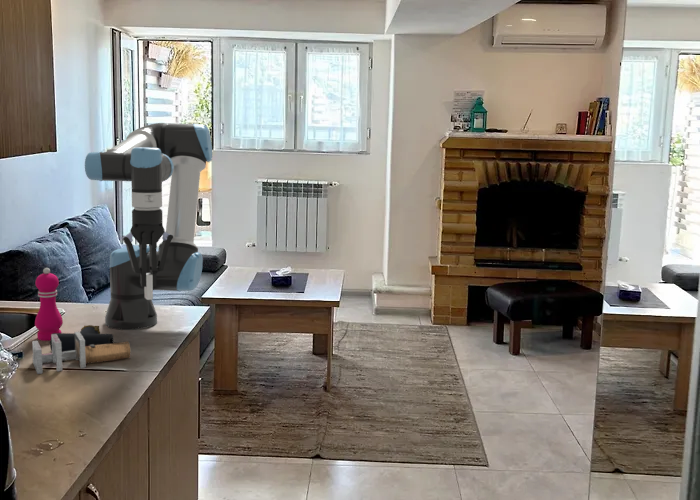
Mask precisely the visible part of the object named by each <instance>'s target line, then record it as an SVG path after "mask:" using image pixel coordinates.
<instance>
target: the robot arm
mask: <svg viewBox="0 0 700 500" xmlns="http://www.w3.org/2000/svg"><path fill="white" fill-rule="evenodd" d="M212 145H213V144H212V139H211V133H210V129H209V128H208V126H207V125H205V124H202V123H201V124H199V123H194V122H193V123H167V122H166V123H165V122H156V123H151V124H148V125H143V126H141V127H139V128H137V129H135V130H133V131H131V132H130V133H129V134H128V135H127V136H126V139H124V140H123V141H121V142H119V143H117V145H115V146H113V147H111V148H109V149H108V150H106V151H103V152H102V151H93V152H92V151H91V152H89V153H87V154H86V156H85V159H84V172H85V175H86V177H87V178H88V179H89V180H91V181H99V182H102V181H103V182H104V181H105V182H131V207H132V208H133V209H132V210H131V225H132V226H131V228H130V230H129V231H130V232H128V233H127V234H126V235H122V236H121V240H122V241H123V243H124V244H125V246H126V247H122V248H118V249H115V250H113V251H112V252H111V253H110V254H109V266H108V268H109V281H110V282H109V283H110V284H109V285H110V300H109V302H108V306H107V311H106V312H105V313H106V314H105V316H104V317H105V318H104V321H105V323H104V325H105V326H106V327H108V328H110V329H115V330H139V329H140V330H141V329H145V328H149V327H153V326H154V325H156V324H157V323H158V315H157V314H158V313H157V311H156V307H155V306H154V305H155V304H154V303H153V299H154V292H153V291H163V292H165V291H167V292H168V291H169V292H170V291H171V292H179V293H181V292H190V291H191V292H192V291H194V290H195V289H197V287H198V285H199V283H200V279H201V277H202V271H203V267H204V266H203V262H204V259H203V257H204V256H203V255H202V253H201V252H199V247H198V246H197V245H196V244H195V242H194V240H195V230H196V220H197V212H198V211H197V209H198V198H199V189H200V179H201V178H200V177H201V172H202V171H203V170H205V168H206V166H207V163H210V162H211V161H212V160H213V146H212ZM169 178H170V188H169V198H168V205H167V215H166V226H165V228H164V226H163V222H164V221H163V209H161V208H162V207H163V182H166V181H167V180H169ZM133 238H134V239H135V240H136V242H137V243H138V245H134V244H133V242H134V241H133V240H134V239H133ZM160 239H162V242H160V243H159V241H160ZM158 243H159V244H158ZM157 246H158V247H157ZM157 248H158V251H157Z"/></svg>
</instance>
